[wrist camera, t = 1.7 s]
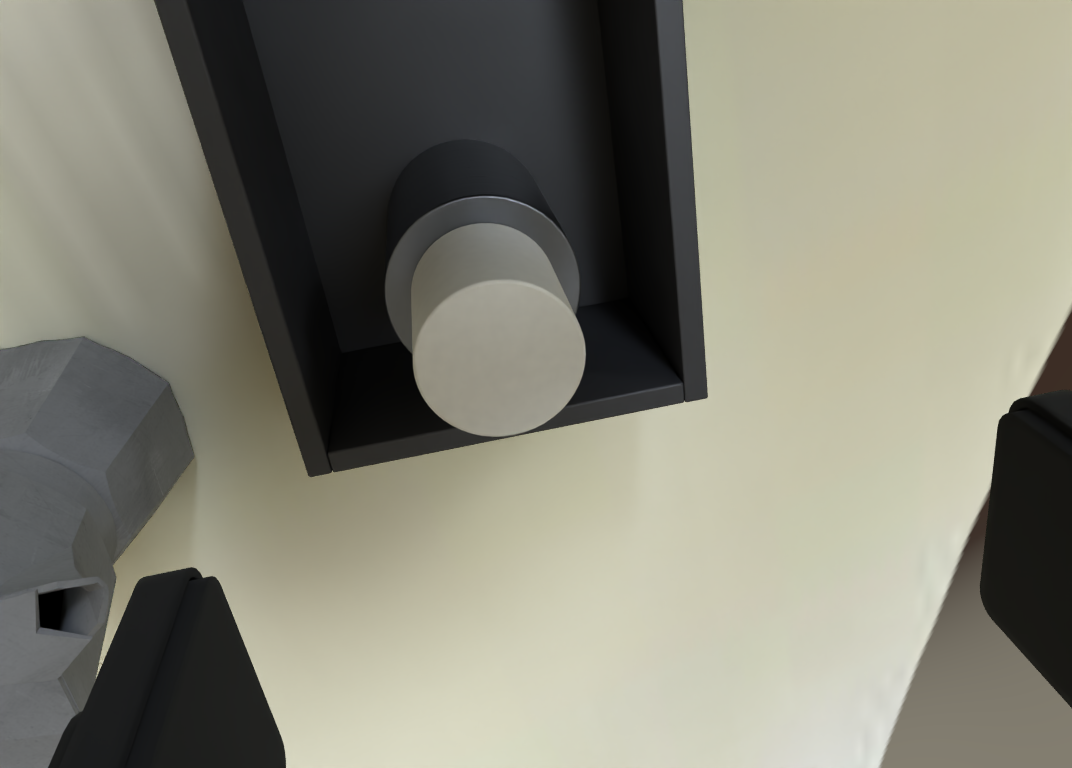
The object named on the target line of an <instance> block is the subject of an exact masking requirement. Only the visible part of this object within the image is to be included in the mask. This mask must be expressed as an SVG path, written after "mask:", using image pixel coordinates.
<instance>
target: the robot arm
mask: <svg viewBox="0 0 1072 768" xmlns="http://www.w3.org/2000/svg"><path fill="white" fill-rule="evenodd" d="M980 594H981V599H982V602H983V605H984V607H985V609H986V611H987V613H988V615H989V616H990V617H991V619H992V620H993V621H994V622H995V623H996V624H997V625H998V627H999V628H1000V629H1001V630H1002V631H1003V632H1004V633H1005V634H1006V635H1007V637H1008V638H1009V639H1010V640H1011V641H1012V642H1013V643H1014V644H1015V646H1016V647H1017V648H1018V649H1019V650H1020V651H1021V652H1022V653H1023V654H1024V655H1025V657H1026V658H1027V659H1028V660H1029V661H1030V662H1031V663H1032V664H1033V666H1035V668H1036V669H1037V670H1038V671H1039V672H1040V673H1041V674H1042V676H1043V677H1044V678H1045V679H1046V680H1047V681H1048V682H1049V683H1050V684H1051V686H1053V687H1054V689H1055V690H1056V691H1057V692H1058V693H1059V694H1060V695H1061V696H1062V698H1063V699H1064V700H1065V701H1066V702H1067V703H1068V704H1069V705H1070V707H1071V708H1072V391H1070V390H1059V391H1055V392H1049V393H1044V394H1039V395H1035V396H1030V397H1025V398H1020V399H1018V400H1016V401H1014V402H1013V404H1012V405H1011V407H1010V409H1009V413H1007V414H1005V415H1003V416H1002V417H1001V419H1000V420H999V424H998V429H997V438H996V447H995V456H994V465H993V474H992V483H991V492H990V501H989V511H988V519H987V528H986V537H985V546H984V554H983V563H982V572H981V581H980ZM48 768H286V758H285V750H284V745H283V741H282V738H281V735H280V733H279V730H278V728H277V725H276V723H275V720H274V718H273V715H272V713H271V710H270V708H269V705H268V703H267V700H266V697H265V695H264V692H263V690H262V687H261V685H260V682H259V680H258V677H257V675H256V672H255V670H254V667H253V665H252V662H251V660H250V657H249V655H248V652H247V650H246V647H245V645H244V642H243V640H242V637H241V635H240V632H239V630H238V627H237V625H236V622H235V620H234V617H233V615H232V612H231V609H230V607H229V604H228V602H227V599H226V597H225V594H224V592H223V589H222V587H221V585H220V583H219V581H218V580H217V578H216V577H213V576H211V577H206V578H203V577H202V575H201V573H200V572H199V571H198V570H197V569H196V568H192V567H191V568H186V569H181V570H176V571H171V572H166V573H161V574H156V575H151V576H147V577H143V578H141V579H140V580H139V581H138V583H137V584H136V586H135V588H134V591H133V593H132V596H131V598H130V600H129V603H128V605H127V607H126V610H125V612H124V614H123V617H122V619H121V622H120V624H119V626H118V629H117V631H116V633H115V636H114V638H113V640H112V643H111V645H110V648H109V650H108V652H107V655H106V657H105V659H104V662H103V664H102V666H101V669H100V671H99V674H98V676H97V678H96V681H95V683H94V685H93V688H92V690H91V693H90V695H89V697H88V700H87V702H86V704H85V707H84V709H83V711H81V712H79V713H78V714H77V715H75V716H74V717H73V718H71V720H70V722H69V723H68V725H67V727H66V728H65V730H64V732H63V734H62V736H61V739H60V741H59V743H58V746H57V748H56V750H55V753H54V755H53V757H52V759H51V762H50V764H49V766H48Z"/></svg>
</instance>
